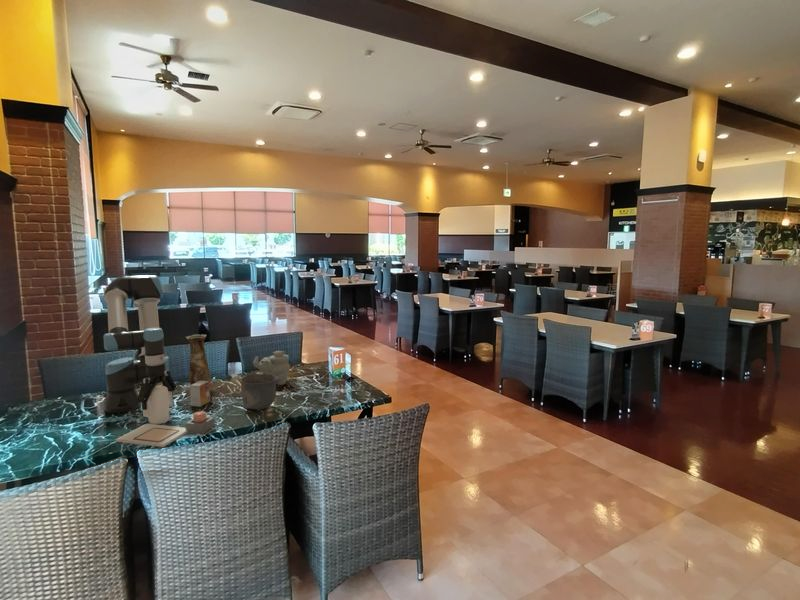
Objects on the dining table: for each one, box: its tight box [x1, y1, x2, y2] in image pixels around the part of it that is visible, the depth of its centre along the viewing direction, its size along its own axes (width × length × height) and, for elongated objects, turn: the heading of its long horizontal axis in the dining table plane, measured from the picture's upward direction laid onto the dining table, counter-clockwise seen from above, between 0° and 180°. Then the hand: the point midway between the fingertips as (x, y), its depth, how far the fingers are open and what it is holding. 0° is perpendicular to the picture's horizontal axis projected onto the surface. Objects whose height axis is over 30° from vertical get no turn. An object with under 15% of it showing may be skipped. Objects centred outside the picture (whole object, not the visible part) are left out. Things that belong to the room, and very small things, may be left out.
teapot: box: [252, 350, 291, 386], centre depth 253 cm, size 16×15×19 cm
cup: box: [239, 372, 278, 410], centre depth 214 cm, size 18×18×15 cm
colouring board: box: [115, 423, 188, 448], centre depth 184 cm, size 22×16×1 cm
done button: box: [192, 410, 207, 423], centre depth 190 cm, size 5×5×4 cm
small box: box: [189, 381, 211, 407], centre depth 221 cm, size 8×6×10 cm
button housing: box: [184, 416, 215, 435], centre depth 191 cm, size 8×8×4 cm
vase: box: [185, 333, 211, 386], centre depth 239 cm, size 10×11×30 cm
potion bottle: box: [147, 382, 171, 425], centre depth 198 cm, size 8×8×18 cm
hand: (158, 410), depth 198 cm, fingers open, 13 cm apart
